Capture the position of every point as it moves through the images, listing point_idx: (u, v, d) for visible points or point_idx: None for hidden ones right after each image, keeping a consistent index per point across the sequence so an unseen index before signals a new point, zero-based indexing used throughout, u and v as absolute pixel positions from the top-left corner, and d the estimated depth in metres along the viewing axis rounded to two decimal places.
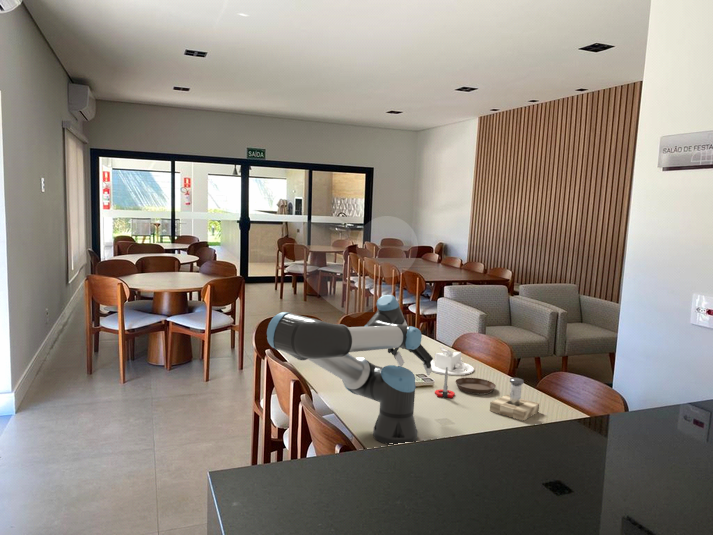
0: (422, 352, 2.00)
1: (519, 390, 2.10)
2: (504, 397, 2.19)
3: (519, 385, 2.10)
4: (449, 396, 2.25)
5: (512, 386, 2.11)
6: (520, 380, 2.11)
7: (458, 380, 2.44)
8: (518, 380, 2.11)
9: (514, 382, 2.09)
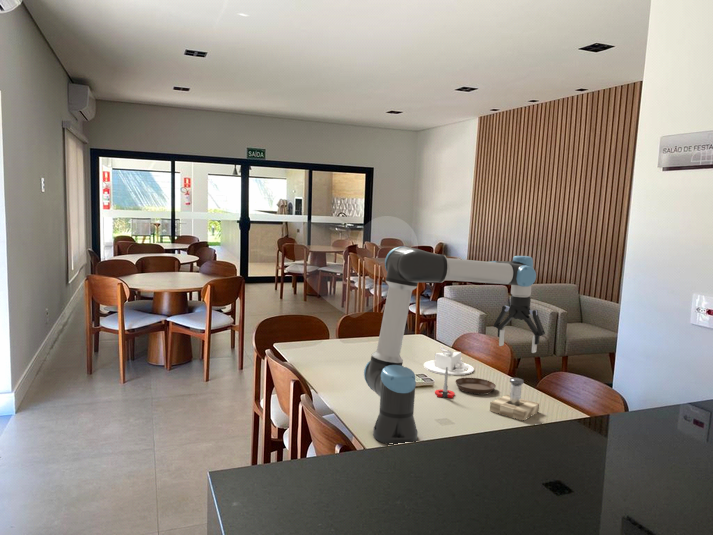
0: (538, 321, 2.04)
1: (519, 390, 2.10)
2: (504, 397, 2.19)
3: (519, 385, 2.10)
4: (449, 396, 2.25)
5: (512, 386, 2.11)
6: (520, 380, 2.11)
7: (458, 380, 2.44)
8: (518, 380, 2.11)
9: (514, 382, 2.09)
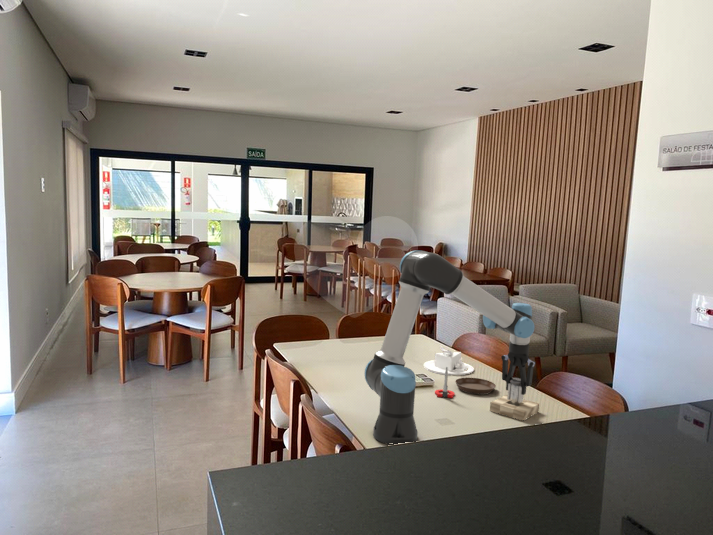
0: (530, 373, 2.07)
1: None
2: (504, 397, 2.19)
3: (519, 385, 2.10)
4: (449, 396, 2.25)
5: (512, 386, 2.11)
6: (520, 380, 2.11)
7: (458, 380, 2.44)
8: (518, 380, 2.11)
9: (514, 382, 2.09)
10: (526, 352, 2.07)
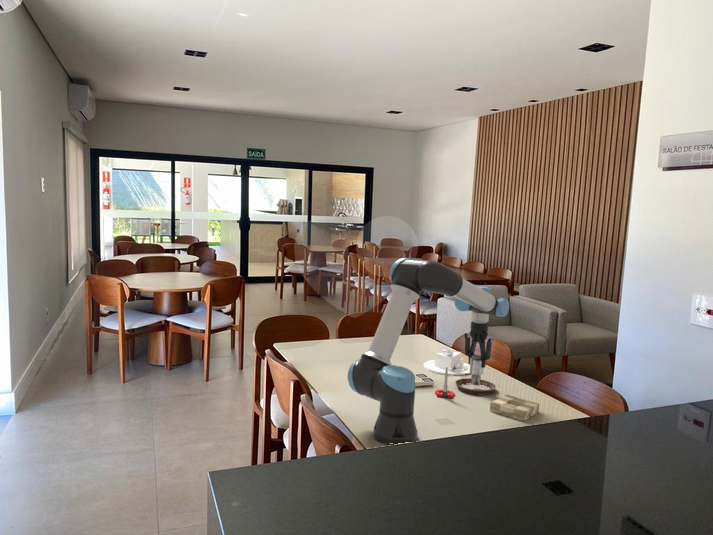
0: (489, 348, 2.33)
1: None
2: (504, 397, 2.19)
3: (479, 360, 2.36)
4: (449, 396, 2.25)
5: (473, 361, 2.37)
6: (480, 355, 2.37)
7: (458, 381, 2.44)
8: (478, 355, 2.37)
9: (475, 357, 2.35)
10: (485, 329, 2.33)
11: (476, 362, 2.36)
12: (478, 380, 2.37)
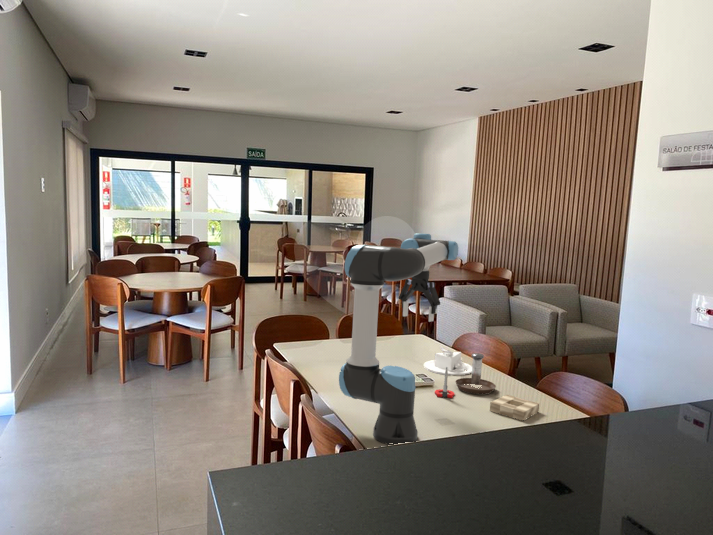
0: (434, 293, 2.23)
1: (480, 364, 2.36)
2: (504, 397, 2.19)
3: (480, 359, 2.36)
4: (449, 396, 2.25)
5: (473, 360, 2.37)
6: (481, 355, 2.37)
7: (458, 381, 2.44)
8: (479, 355, 2.36)
9: (475, 357, 2.35)
10: (425, 277, 2.25)
11: (476, 362, 2.36)
12: (478, 379, 2.37)
